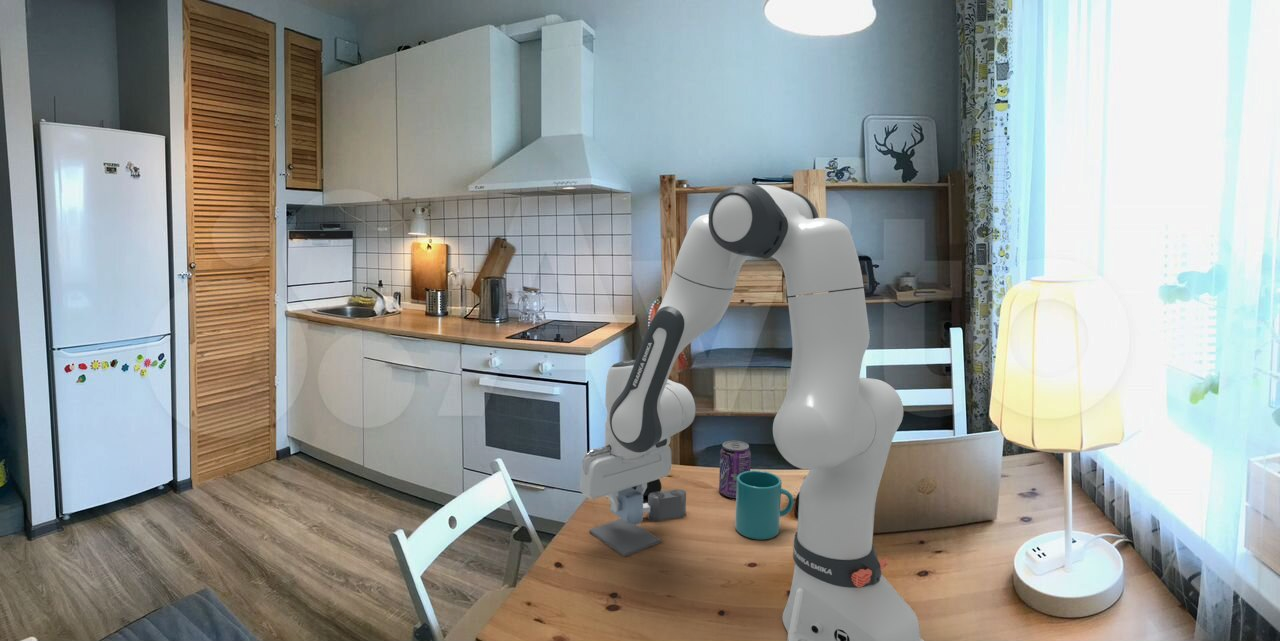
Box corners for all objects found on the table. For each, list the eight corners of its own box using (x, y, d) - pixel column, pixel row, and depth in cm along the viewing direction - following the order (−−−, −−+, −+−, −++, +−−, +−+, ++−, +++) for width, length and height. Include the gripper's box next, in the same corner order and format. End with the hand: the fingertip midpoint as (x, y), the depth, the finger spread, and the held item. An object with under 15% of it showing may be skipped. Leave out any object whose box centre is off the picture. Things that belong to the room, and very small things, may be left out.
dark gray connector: (682, 509, 137) (682, 488, 136) (688, 516, 133) (688, 494, 133) (635, 516, 133) (635, 494, 133) (640, 523, 130) (640, 501, 129)
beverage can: (719, 486, 149) (720, 439, 147) (748, 488, 148) (750, 440, 146) (718, 499, 142) (720, 449, 140) (749, 501, 141) (751, 451, 139)
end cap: (661, 502, 140) (661, 474, 139) (630, 503, 140) (630, 475, 139) (655, 484, 150) (656, 458, 149) (626, 485, 149) (626, 459, 148)
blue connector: (646, 520, 121) (646, 496, 120) (632, 525, 119) (632, 501, 118) (614, 500, 129) (614, 478, 128) (600, 504, 127) (600, 482, 126)
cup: (799, 539, 124) (802, 486, 122) (741, 542, 123) (743, 488, 121) (784, 518, 133) (786, 469, 131) (730, 521, 132) (731, 471, 130)
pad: (660, 542, 122) (660, 539, 122) (624, 556, 117) (624, 553, 117) (624, 519, 132) (624, 517, 132) (589, 532, 126) (589, 529, 126)
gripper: (592, 457, 112) (591, 528, 114) (676, 435, 124) (675, 499, 126) (573, 447, 117) (573, 515, 119) (657, 426, 129) (655, 488, 131)
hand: (626, 507), depth 123 cm, fingers closed on blue connector, 3 cm apart
